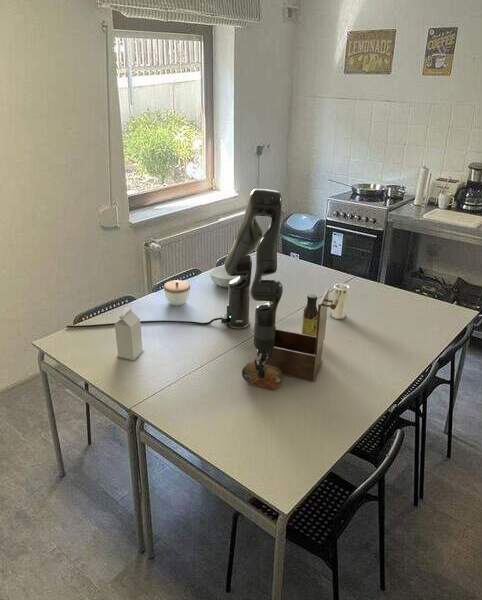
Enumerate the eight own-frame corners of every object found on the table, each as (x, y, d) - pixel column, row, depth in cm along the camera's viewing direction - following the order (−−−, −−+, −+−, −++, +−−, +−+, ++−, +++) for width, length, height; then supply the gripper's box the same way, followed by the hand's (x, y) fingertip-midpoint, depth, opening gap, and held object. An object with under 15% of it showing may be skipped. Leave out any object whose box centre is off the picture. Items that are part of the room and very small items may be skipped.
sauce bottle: (315, 342, 205) (319, 300, 196) (300, 341, 206) (304, 298, 197) (316, 335, 211) (320, 293, 202) (301, 333, 212) (305, 292, 203)
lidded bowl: (176, 294, 246) (175, 274, 241) (195, 301, 239) (195, 280, 234) (159, 303, 236) (157, 282, 231) (178, 310, 230) (178, 289, 225)
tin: (241, 382, 180) (241, 363, 176) (244, 377, 182) (244, 358, 178) (281, 391, 175) (282, 372, 171) (283, 386, 177) (284, 367, 173)
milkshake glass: (336, 320, 223) (340, 291, 216) (327, 314, 228) (330, 285, 222) (348, 317, 226) (352, 288, 219) (339, 311, 231) (342, 282, 225)
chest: (262, 369, 187) (263, 345, 182) (273, 351, 199) (274, 328, 194) (313, 381, 181) (315, 356, 176) (321, 361, 192) (323, 337, 188)
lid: (318, 304, 167) (333, 306, 165) (326, 288, 179) (341, 290, 177) (314, 355, 176) (329, 358, 174) (322, 336, 188) (336, 339, 186)
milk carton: (142, 351, 197) (139, 309, 189) (133, 360, 191) (130, 318, 183) (127, 348, 199) (123, 306, 191) (118, 357, 193) (113, 314, 185)
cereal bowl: (207, 289, 251) (207, 276, 248) (214, 276, 266) (213, 264, 263) (240, 292, 249) (240, 279, 246) (244, 279, 264) (245, 267, 260)
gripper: (260, 322, 176) (258, 363, 184) (247, 341, 164) (246, 383, 172) (280, 326, 174) (278, 367, 181) (268, 345, 162) (266, 388, 170)
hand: (262, 374), depth 177 cm, fingers closed on tin, 2 cm apart
